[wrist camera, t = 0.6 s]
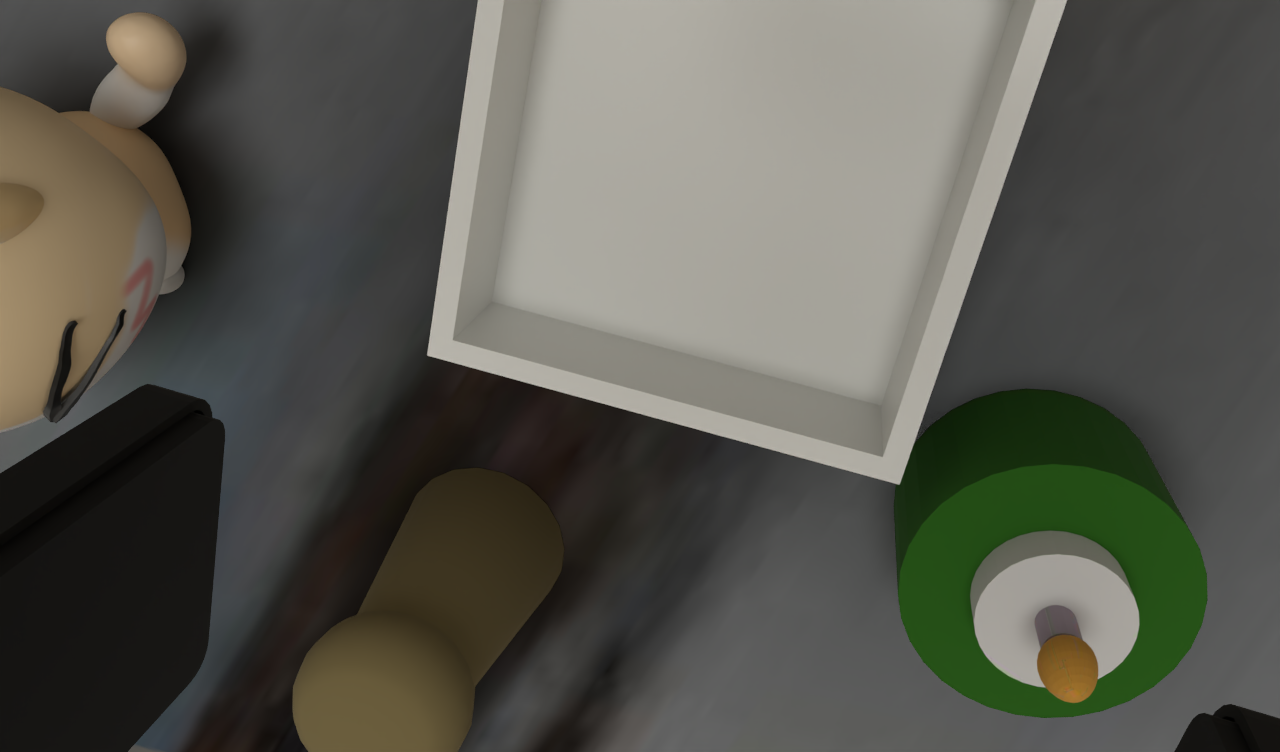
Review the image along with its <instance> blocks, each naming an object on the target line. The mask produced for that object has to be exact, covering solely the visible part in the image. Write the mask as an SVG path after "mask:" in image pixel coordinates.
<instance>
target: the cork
mask: <svg viewBox="0 0 1280 752" xmlns="http://www.w3.org/2000/svg"><path fill="white" fill-rule="evenodd" d="M563 555H564V545H563V540H562V536H561V531H560V527H559V524H558V523H557V521H556V519H555V517H554V516H553V514H552V512H551V511H550V509H549V507H548V505H547V504H546V503H545V502H544V501H543V500H542V499H541V498H540V497H539V496H538V495H537V494H536V493H535V492H534V491H533V490H532V489H530V488H529V487H528V486H527V485H525V484H523V483H522V482H520V481H518V480H516V479H514V478H512V477H510V476H508V475H506V474H505V473H501V472H496V471H492V470H487V469H482V468H468V469H455V470H452V471H449V472H447V473H445V474H442V475H440V476H438V477H435V478H433V479H432V480H431V481H430V482H429V483H428V484H427V485H426V486H424V487H423V488H422V489H421V490H420V491H419V492H418V493H417V494H416V496H415V498H414V500H413V502H412V504H411V506H410V508H409V510H408V513H407V515H406V517H405V519H404V521H403V523H402V525H401V527H400V529H399V531H398V533H397V535H396V537H395V539H394V541H393V543H392V545H391V547H390V549H389V551H388V553H387V555H386V557H385V559H384V561H383V563H382V565H381V567H380V569H379V571H378V573H377V575H376V577H375V579H374V581H373V583H372V585H371V587H370V589H369V592H368V594H367V596H366V598H365V600H364V602H363V604H362V606H361V608H360V610H359V612H358V614H357V615H355V616H353V617H350V618H347V619H345V620H343V621H342V622H340V623H338V624H337V625H335V626H334V627H332V628H331V629H330V630H329V631H328V632H327V633H326V634H325V635H323V636H322V637H321V638H320V639H319V640H318V641H317V642H316V643H315V644H314V645H313V647H312V648H311V649H310V650H309V652H308V653H307V654H306V656H305V659H304V661H303V663H302V665H301V668H300V670H299V672H298V675H297V677H296V680H295V683H294V686H293V716H294V722H295V725H296V728H297V731H298V734H299V737H300V740H301V742H302V743H303V744H304V746H305V747H306V749H307V750H308V752H458V750H459V748H460V746H461V744H462V742H463V741H464V739H465V737H466V735H467V733H468V730H469V728H470V726H471V723H472V715H473V706H474V696H475V686H476V684H477V683H478V682H479V681H480V679H481V678H482V677H483V676H484V674H485V673H486V672H487V670H488V669H489V668H490V667H491V665H492V664H493V663H494V662H495V660H496V659H497V658H498V656H499V655H500V654H501V653H502V651H503V650H504V649H505V648H506V646H507V645H508V644H509V643H510V641H511V640H512V639H513V637H514V636H515V635H516V634H517V632H518V631H519V630H520V629H521V627H522V626H523V625H524V623H525V622H526V621H527V620H528V618H529V617H530V616H531V615H532V613H533V612H534V611H535V609H536V608H537V607H538V606H539V604H540V603H541V602H542V601H543V599H544V598H545V597H546V596H547V594H548V593H549V592H550V590H551V589H552V587H553V585H554V583H555V582H556V580H557V578H558V576H559V574H560V573H561V570H562V563H563Z"/></svg>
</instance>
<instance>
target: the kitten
mask: <svg viewBox="0 0 1280 752" xmlns="http://www.w3.org/2000/svg"><path fill="white" fill-rule="evenodd" d="M106 42H107V47H108V50H109V52H110V54H111V55H112V57H113V58H114V60H115V61H116V62H117V63H118V64H117V65H116V66H115V67H114V68H113V70H112V71H111V72H110V73H109V74H108V75H107V76H106V77H105V78H104V79H103V80H102V82H101V83H100V84H99V86H98V87H97V89H96V92H95V94H94V96H93V98H92V103H91V106H90V112H88V111H69V112H62V113H58V112H56V111H55V110H53V109H51V108H49V107H48V106H46V105H44V104H42V103H40V102H38V101H36V100H34V99H32V98H30V97H27V96H25V95H22V94H20V93H17V92H15V91H12V90H9V89H6V88H2V87H0V433H1V432H4V431H8V430H11V429H14V428H18V427H21V426H24V425H26V424H29V423H32V422H34V421H37V420H39V419H41V418H43V417H46V418H47V419H48V420H49V421H50V422H55V423H57V422H58V421H60V420H61V419H62V418H63V417H65V416H66V415H67V414H68V412H69V411H70V410H71V408H72V407H73V406H74V405H75V404H76V403H77V401H78V400H79V399H80V397H81V396H82V394H84V393H85V392H86V391H87V390H89V389H90V388H91V387H92V386H93V385H94V384H96V383H97V382H98V381H99V380H100V379H101V378H102V377H103V376H104V375H105V374H106V373H107V372H108V371H109V370H110V369H111V368H112V367H113V366H114V364H115V363H116V362H117V361H118V360H119V359H120V358H121V357H122V355H123V354H124V353H125V352H126V350H127V349H128V348H129V347H130V345H131V344H132V343H133V341H134V340H135V338H136V337H137V335H138V334H139V332H140V331H141V329H142V328H143V326H144V324H145V323H146V321H147V319H148V317H149V315H150V314H151V312H152V310H153V307H154V305H155V303H156V301H157V298H158V296H159V294H167V293H170V292H173V291H175V290H176V289H178V288H179V287H180V286H181V285H182V283H183V281H184V277H185V273H184V269H183V267H182V266H181V265H182V263H183V261H184V259H185V257H186V255H187V252H188V249H189V245H190V240H191V222H190V216H189V212H188V208H187V205H186V202H185V199H184V196H183V194H182V191H181V188H180V186H179V183H178V181H177V179H176V176H175V174H174V172H173V170H172V168H171V166H170V164H169V162H168V160H167V158H166V157H165V155H164V153H163V152H162V151H161V149H160V148H159V147H158V146H157V144H156V143H155V142H154V141H153V140H152V139H151V138H150V137H148V136H147V135H146V134H145V133H143V132H142V131H141V130H139V129H138V127H140V126H142V125H143V124H145V123H147V122H148V121H150V120H151V119H152V118H153V117H155V116H156V115H157V114H158V113H159V112H160V111H161V110H162V109H163V108H164V106H165V105H166V104H167V102H168V100H169V98H170V96H171V93H172V91H173V88H174V86H175V85H176V83H177V82H178V80H179V79H180V77H181V75H182V73H183V71H184V69H185V65H186V60H187V55H186V49H185V45H184V42H183V40H182V38H181V36H180V35H179V33H178V32H177V30H176V29H175V28H174V27H173V26H172V25H171V24H170V23H168V22H167V21H166V20H164V19H162V18H161V17H158V16H156V15H153V14H150V13H144V12H137V13H130V14H126V15H124V16H121V17H120V18H118V19H116V20H115V21H114V22H113V23H112V24H111V25H110V27H109V28H108V31H107V34H106Z"/></svg>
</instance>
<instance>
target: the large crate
mask: <svg viewBox="0 0 1280 752" xmlns="http://www.w3.org/2000/svg"><path fill="white" fill-rule="evenodd" d="M1066 2H1067V0H478V4H477V11H476V18H475V25H474V32H473V39H472V46H471V53H470V60H469V67H468V74H467V81H466V88H465V95H464V102H463V109H462V116H461V123H460V130H459V137H458V144H457V151H456V158H455V165H454V172H453V179H452V186H451V193H450V200H449V207H448V214H447V221H446V228H445V235H444V241H443V248H442V255H441V262H440V269H439V276H438V283H437V290H436V297H435V304H434V311H433V318H432V325H431V332H430V339H429V346H428V353H427V356H431V357H435V358H438V359H442V360H446V361H449V362H453V363H457V364H460V365H464V366H467V367H471V368H475V369H478V370H482V371H486V372H489V373H493V374H497V375H500V376H504V377H508V378H511V379H515V380H519V381H522V382H526V383H530V384H533V385H537V386H541V387H544V388H548V389H551V390H555V391H559V392H562V393H566V394H570V395H573V396H577V397H581V398H584V399H588V400H592V401H595V402H599V403H603V404H606V405H610V406H614V407H617V408H621V409H625V410H628V411H632V412H635V413H639V414H643V415H646V416H650V417H654V418H657V419H661V420H665V421H668V422H672V423H676V424H679V425H683V426H687V427H690V428H694V429H698V430H701V431H705V432H709V433H712V434H716V435H719V436H723V437H727V438H730V439H734V440H738V441H741V442H745V443H749V444H752V445H756V446H760V447H763V448H767V449H771V450H774V451H778V452H782V453H785V454H789V455H793V456H796V457H800V458H803V459H807V460H811V461H814V462H818V463H822V464H825V465H829V466H833V467H836V468H840V469H844V470H847V471H851V472H855V473H858V474H862V475H866V476H869V477H873V478H877V479H880V480H884V481H887V482H891V483H895V484H898V485H900V482H901V479H902V477H903V474H904V471H905V468H906V465H907V462H908V459H909V456H910V453H911V451H912V448H913V445H914V442H915V439H916V436H917V433H918V430H919V427H920V424H921V422H922V419H923V416H924V413H925V410H926V407H927V404H928V401H929V398H930V396H931V393H932V390H933V387H934V384H935V381H936V378H937V375H938V372H939V369H940V367H941V364H942V361H943V358H944V355H945V352H946V349H947V346H948V343H949V341H950V338H951V335H952V332H953V329H954V326H955V323H956V320H957V317H958V315H959V312H960V309H961V306H962V303H963V300H964V297H965V294H966V291H967V288H968V286H969V283H970V280H971V277H972V274H973V271H974V268H975V265H976V262H977V260H978V257H979V254H980V251H981V248H982V245H983V242H984V239H985V236H986V233H987V231H988V228H989V225H990V222H991V219H992V216H993V213H994V210H995V207H996V205H997V202H998V199H999V196H1000V193H1001V190H1002V187H1003V184H1004V181H1005V178H1006V176H1007V173H1008V170H1009V167H1010V164H1011V161H1012V158H1013V155H1014V152H1015V150H1016V147H1017V144H1018V141H1019V138H1020V135H1021V132H1022V129H1023V126H1024V124H1025V121H1026V118H1027V115H1028V112H1029V109H1030V106H1031V103H1032V100H1033V97H1034V95H1035V92H1036V89H1037V86H1038V83H1039V80H1040V77H1041V74H1042V71H1043V69H1044V66H1045V63H1046V60H1047V57H1048V54H1049V51H1050V48H1051V45H1052V42H1053V40H1054V37H1055V34H1056V31H1057V28H1058V25H1059V22H1060V19H1061V16H1062V14H1063V11H1064V8H1065V5H1066Z"/></svg>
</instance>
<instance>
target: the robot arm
mask: <svg viewBox="0 0 1280 752" xmlns="http://www.w3.org/2000/svg"><path fill="white" fill-rule="evenodd" d="M224 443H225V429H224V425H223V423H222V422H221V421H220V420H218V419H215V418H212V411H211V408H210V405H209V404H208V403H207V402H206V401H205V400H203V399H200V398H196V397H193V396H189V395H186V394H183V393H179V392H176V391H173V390H169V389H166V388H162V387H159V386H156V385H150V384H146V385H144V386H141V387H139V388H137V389H136V390H134V391H132V392H131V393H129V394H128V395H126V396H124V397H123V398H121V399H120V400H118V401H116V402H115V403H113V404H112V405H110V406H108V407H107V408H105V409H103V410H102V411H100V412H99V413H97V414H95V415H94V416H92V417H91V418H89V419H87V420H86V421H84V422H83V423H81V424H79V425H78V426H76V427H74V428H73V429H71V430H70V431H68V432H66V433H65V434H63V435H62V436H60V437H58V438H57V439H55V440H54V441H52V442H50V443H49V444H47V445H45V446H44V447H42V448H41V449H39V450H37V451H36V452H34V453H33V454H31V455H29V456H28V457H26V458H25V459H23V460H21V461H20V462H18V463H16V464H15V465H13V466H12V467H10V468H8V469H7V470H5V471H4V472H2V473H0V752H128V751H129V749H130V748H131V747H132V746H133V745H134V744H135V743H136V742H137V741H138V740H139V738H140V737H141V736H142V735H143V734H144V733H145V732H146V731H147V730H148V729H149V727H150V726H151V725H152V724H153V723H154V722H155V721H156V720H157V719H158V717H159V716H160V715H161V714H162V713H163V712H164V711H165V710H166V709H167V708H168V706H169V705H170V704H171V703H172V702H173V701H174V700H175V699H176V698H177V697H178V695H179V694H180V693H181V692H182V691H183V690H184V689H185V688H186V687H187V685H188V684H189V683H190V682H191V681H192V679H193V678H194V677H195V675H196V674H197V672H198V670H199V669H200V667H201V664H202V662H203V660H204V657H205V654H206V651H207V646H208V640H209V627H210V615H211V603H212V590H213V578H214V566H215V554H216V541H217V529H218V517H219V504H220V492H221V480H222V468H223V455H224ZM1175 752H1280V718H1276V717H1273V716H1269V715H1266V714H1263V713H1259V712H1256V711H1253V710H1249V709H1246V708H1242V707H1239V706H1236V705H1232V704H1229V705H1224V706H1222V707H1221V708H1220V709H1218V710H1217V711H1216V712H1215V713H1214V715H1209V714H1206V713H1202V714H1198V715H1197V716H1196V717H1195V718H1193V720H1192V721H1191V723H1190V724H1189V726H1188V728H1187V729H1186V731H1185V733H1184V735H1183V737H1182V739H1181V741H1180V743H1179V744H1178V746H1177V748H1176V750H1175Z"/></svg>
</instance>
